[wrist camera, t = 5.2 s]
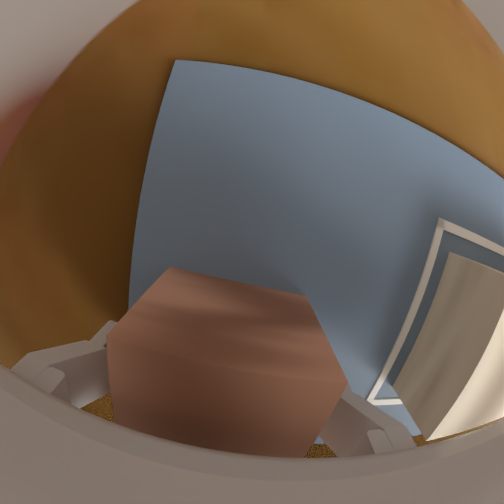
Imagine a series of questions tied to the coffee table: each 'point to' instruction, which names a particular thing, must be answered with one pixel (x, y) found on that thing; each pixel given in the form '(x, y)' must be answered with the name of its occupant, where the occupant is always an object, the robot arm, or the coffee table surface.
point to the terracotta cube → (223, 366)
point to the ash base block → (458, 353)
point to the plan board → (313, 209)
